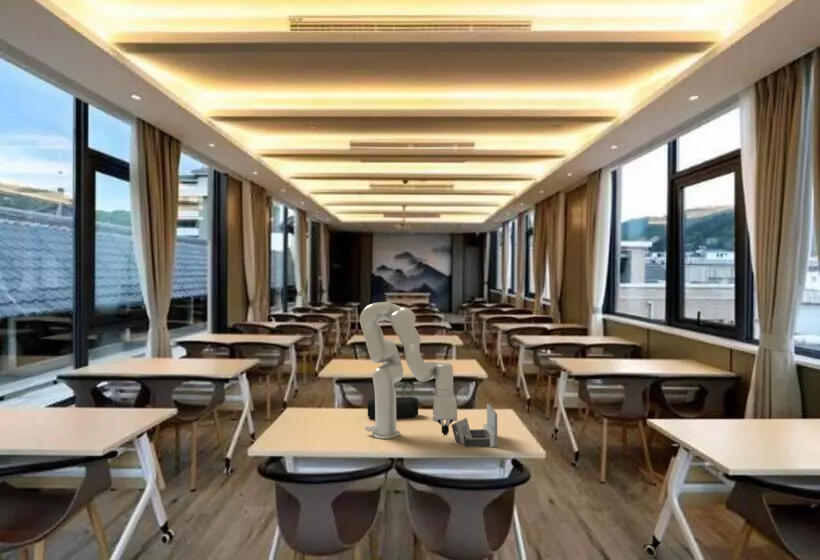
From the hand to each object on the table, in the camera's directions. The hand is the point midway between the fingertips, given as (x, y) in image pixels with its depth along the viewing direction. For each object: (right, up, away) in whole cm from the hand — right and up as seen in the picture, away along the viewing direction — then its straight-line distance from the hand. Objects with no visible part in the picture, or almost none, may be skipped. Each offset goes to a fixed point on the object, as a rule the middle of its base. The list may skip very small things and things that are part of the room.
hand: (445, 434), depth 244 cm
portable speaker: (-24, -4, +44) cm, 50 cm away
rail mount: (+13, -3, +1) cm, 14 cm away
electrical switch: (+7, -3, +1) cm, 8 cm away
